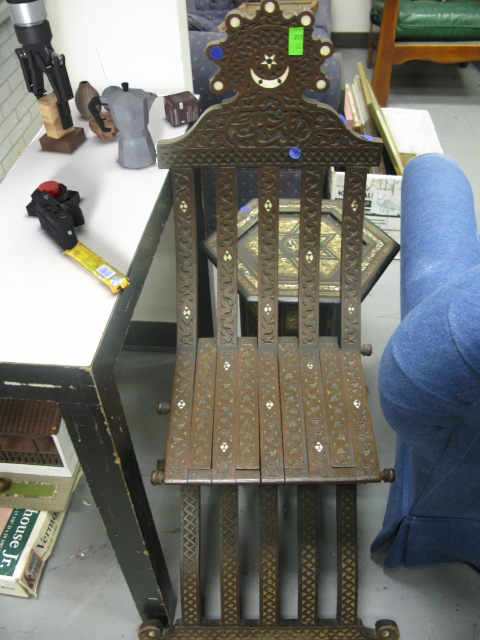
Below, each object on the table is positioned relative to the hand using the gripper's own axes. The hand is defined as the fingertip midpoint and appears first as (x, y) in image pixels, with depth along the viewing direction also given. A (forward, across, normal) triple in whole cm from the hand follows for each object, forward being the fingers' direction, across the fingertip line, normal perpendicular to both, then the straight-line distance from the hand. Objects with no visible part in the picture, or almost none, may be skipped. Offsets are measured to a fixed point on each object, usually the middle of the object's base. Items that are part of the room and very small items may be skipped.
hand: (59, 124), depth 135 cm
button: (+2, -19, +22) cm, 29 cm away
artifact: (+5, -7, -8) cm, 12 cm away
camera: (+5, -29, +28) cm, 41 cm away
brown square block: (+5, 0, 0) cm, 5 cm away
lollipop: (-5, -3, -21) cm, 22 cm away
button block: (+5, -19, +22) cm, 30 cm away
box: (+2, -20, -28) cm, 35 cm away
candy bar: (+3, -42, +34) cm, 54 cm away
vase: (+5, +5, -16) cm, 17 cm away
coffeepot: (+5, -21, -2) cm, 21 cm away
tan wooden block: (+2, 0, 0) cm, 2 cm away
